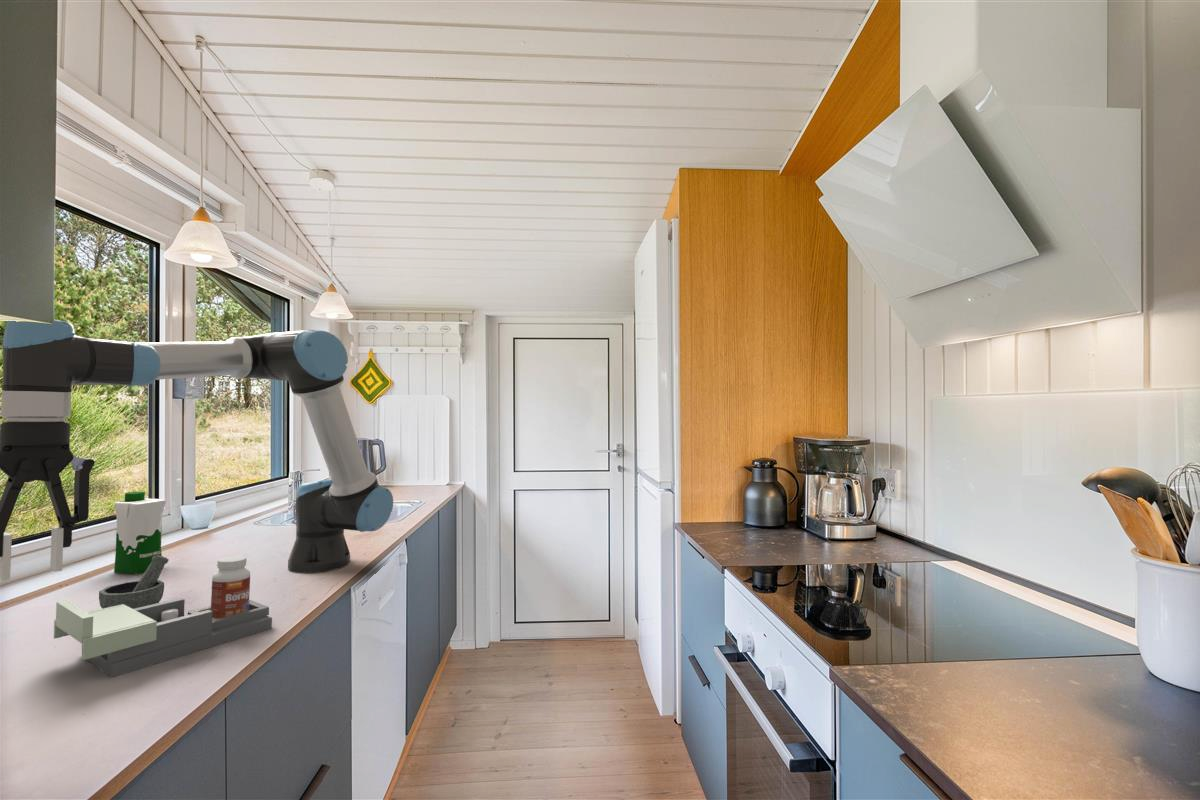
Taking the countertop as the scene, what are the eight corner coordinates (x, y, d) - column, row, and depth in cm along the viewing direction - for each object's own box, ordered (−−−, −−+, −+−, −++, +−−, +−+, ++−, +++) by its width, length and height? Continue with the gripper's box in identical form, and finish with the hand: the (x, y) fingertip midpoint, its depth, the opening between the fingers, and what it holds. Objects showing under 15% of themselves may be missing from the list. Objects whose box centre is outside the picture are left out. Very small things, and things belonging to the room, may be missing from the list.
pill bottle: (225, 624, 103) (227, 564, 103) (202, 619, 105) (204, 560, 105) (256, 613, 109) (258, 556, 109) (234, 609, 111) (236, 553, 111)
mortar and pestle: (118, 634, 103) (120, 569, 103) (85, 628, 106) (88, 564, 106) (181, 614, 114) (183, 555, 114) (150, 608, 117) (151, 551, 117)
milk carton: (142, 564, 150) (145, 490, 151) (169, 566, 148) (171, 491, 149) (107, 573, 142) (109, 494, 142) (134, 576, 139) (137, 496, 140)
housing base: (238, 612, 114) (239, 583, 115) (274, 627, 107) (274, 596, 107) (81, 655, 94) (82, 619, 94) (111, 677, 86) (112, 638, 87)
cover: (122, 621, 99) (123, 587, 99) (156, 639, 91) (157, 603, 91) (53, 637, 91) (54, 601, 92) (83, 660, 83) (84, 619, 83)
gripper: (103, 419, 94) (99, 557, 93) (-59, 419, 79) (-66, 584, 78) (120, 420, 90) (115, 564, 89) (-49, 420, 75) (-56, 594, 74)
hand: (30, 573), depth 84 cm, fingers open, 5 cm apart
